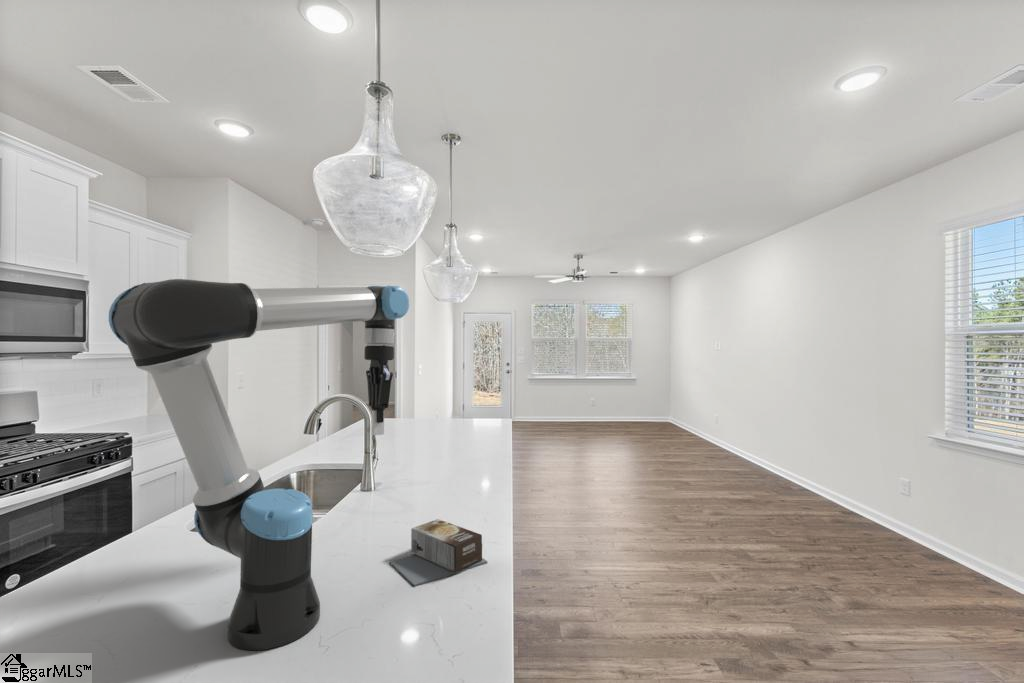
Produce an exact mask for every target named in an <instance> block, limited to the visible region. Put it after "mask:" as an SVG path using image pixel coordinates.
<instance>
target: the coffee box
mask: <svg viewBox="0 0 1024 683" xmlns="http://www.w3.org/2000/svg"><path fill="white" fill-rule="evenodd" d="M410 534H411V535H410V538H411V539H410V540H411V542H410V543H411V545H410V546H411V548H410V550H411V551H410V552H411V553H412V554H413V555H414V554H416V555H418V556H420V557H422V558H425V559H427V560H429V561H431V562H433V563H435V564H438V565H440V566H442V567H444V568H446V569H448V570H451V571H453V572H455V574H458V573H460V572H459V571H461V570H463V569H465V568H467V567H469V566H471V565H473V564H475V563H477V562H480V561H482V558H483V542H482V541H483V536H482V535H483V534H480V533H478V532H475V531H473V530H470V529H467V528H464V527H461V526H459V525H456V524H453V523H450V522H447V521H445V520H442V519H439V518H438V519H437V518H436V519H434V520H432V521H428V522H426V523H423V524H420V525H417V526H415V527H412V528H411V532H410ZM457 572H458V573H457ZM461 572H462V571H461Z"/></svg>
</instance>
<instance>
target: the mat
mask: <svg viewBox="0 0 1024 683" xmlns="http://www.w3.org/2000/svg"><path fill="white" fill-rule="evenodd" d="M389 564H390V565H391V564H392V565H393V566H392V565H391V566H392V567H393V568H394V569H395V570H396V569H397V570H396V571H397V572H399V574H401V576H403V577H404V578H405V580H406V581H407V582H409V583H410V584H411V585H412V586H413V587H418V586H420V585H421V586H422V585H423V584H427V583H430V582H434V581H437V580H439V579H442V578H445V577H448V576H451V575H455V574H458V573H460V572H465V571H466V570H470V569H473V568H476V567H478V566H483V565H486V564H488V560H486V559H484V558H483V557H482V561H480V562H477V563H475V564H473V565H471V566H469V567H467V568H465V569H463V570H461V571H459V572H457V573H455V572H453V571H451V570H448V569H446V568H444V567H442V566H440V565H438V564H435V563H433V562H431V561H429V560H427V559H425V558H422V557H420V556H418V555H416V554H414V553H413V554H411V555H407V556H404V557H400V558H397V559H393V560H390V561H389Z"/></svg>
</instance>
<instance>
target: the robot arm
mask: <svg viewBox="0 0 1024 683" xmlns="http://www.w3.org/2000/svg"><path fill="white" fill-rule="evenodd" d="M409 309H410V299H409V295H408V293H407V292H406V290H405V289H404V288H402V287H401V286H398V285H385V286H382V285H370V286H367V287H365V286H361V287H360V286H354V287H353V286H352V287H351V286H349V287H346V286H345V287H344V286H343V287H294V288H293V287H283V288H281V287H280V288H278V287H277V288H275V287H273V288H252V287H251V286H250V285H248V284H247V283H244V282H219V281H218V282H217V281H205V280H196V279H187V278H186V279H183V278H176V279H175V278H173V279H166V280H160V281H154V282H143V283H141V284H137V285H133V286H132V287H131V288H128V289H126V290H124V291H123V292H121V293H120V294H118V295H117V297H116V298H115V299H114V300H113V302H112V304H111V305H110V307H109V311H108V323H109V327H110V329H111V331H112V333H113V334H114V336H115V337H116V338H118V340H119V341H120V342H121V343H123V344H125V345H126V346H127V348H128V350H129V352H130V355H131V357H132V359H133V361H134V363H135V366H136V368H137V369H140V370H142V371H145V372H147V373H149V374H150V375H151V377H152V379H153V380H154V383H155V386H156V389H157V391H158V394H159V396H160V398H161V400H162V403H163V406H164V409H165V411H166V413H167V415H168V417H169V420H170V423H171V425H172V427H173V430H174V432H175V435H176V437H177V439H178V442H179V445H180V447H181V449H182V451H183V454H184V456H185V459H186V462H187V464H188V466H189V468H190V471H191V473H192V475H193V478H194V481H195V482H196V486H197V487H198V489H197V491H196V492H195V494H194V495H193V498H192V502H193V504H194V507H195V511H194V517H193V518H194V519H193V520H194V526H195V529H196V532H197V533H198V535H199V536H200V537H201V538H202V539H203V540H204V541H205V542H206V543H207V544H209V545H211V546H213V547H216V548H218V549H221V550H223V551H225V552H227V553H228V554H231V555H233V556H234V557H237V558H238V559H240V581H239V583H240V584H239V585H240V587H239V592H238V593H237V596H236V599H235V602H234V604H233V607H232V610H231V613H230V617H229V618H228V621H227V636H226V637H227V640H228V642H229V644H230V645H232V646H233V647H235V648H237V649H239V650H244V651H245V650H246V651H262V650H269V649H272V648H273V649H274V648H278V647H282V646H285V645H287V644H290V643H291V642H295V641H297V640H299V639H300V638H302V637H304V636H306V635H307V634H308V633H309V632H311V630H312V629H314V628H315V627H316V625H317V624H318V622H319V620H320V617H321V602H320V599H319V595H318V592H317V590H316V587H315V583H314V580H313V578H312V547H313V546H312V545H313V544H312V541H313V523H314V514H313V513H314V512H313V504H312V501H311V498H310V497H309V495H307V494H306V493H304V492H302V491H300V490H297V489H293V488H288V489H285V488H270V489H265V486H264V482H263V480H262V478H261V475H260V473H259V471H258V470H256V469H253V468H249V467H248V466H247V463H246V460H245V457H244V455H243V452H242V449H241V446H240V444H239V442H238V439H237V437H236V436H237V435H236V433H235V432H234V428H233V425H232V423H231V420H230V418H229V415H228V412H227V410H226V406H225V404H224V402H223V399H222V395H221V394H220V393H221V392H220V390H219V387H218V385H217V383H216V380H215V377H214V374H213V372H212V369H211V367H210V364H209V361H208V355H209V354H210V353H211V351H212V349H213V345H212V344H215V343H221V342H226V341H232V340H237V339H239V340H240V339H247V338H251V337H253V336H254V335H256V332H259V331H260V332H261V331H270V330H271V331H272V330H281V329H283V330H284V329H292V328H293V329H295V328H304V327H314V326H323V325H325V326H326V325H334V324H335V325H336V324H337V325H338V324H345V323H346V324H347V323H357V322H363V323H364V344H366V346H365V347H364V357H363V358H364V360H365V361H366V360H367V361H370V364H369V369H367V370H366V372H365V375H366V380H367V395H368V397H367V398H368V406H369V407H370V409H371V414H372V415H371V435H372V436H380V435H381V436H382V435H383V436H384V435H385V411H386V409H389V402H390V395H391V393H390V392H391V386H392V379H393V376H394V373H393V372H392V371H390V368H389V366H390V365H389V361H393V360H394V358H395V347H394V346H393V345H394V344H395V337H396V335H397V334H396V333H395V324H396V323H395V321H396V319H401V318H403V317H404V316H406V315H407V313H408V311H409Z"/></svg>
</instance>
